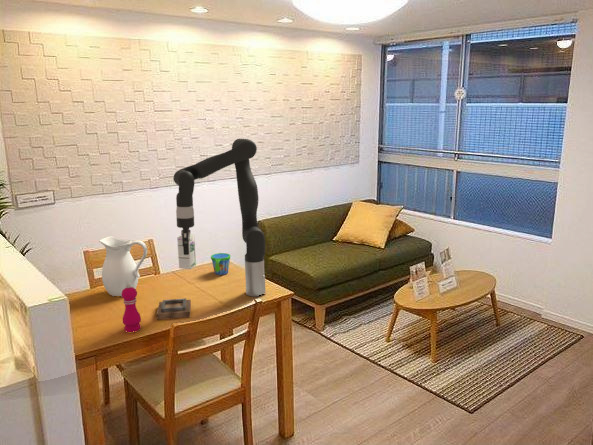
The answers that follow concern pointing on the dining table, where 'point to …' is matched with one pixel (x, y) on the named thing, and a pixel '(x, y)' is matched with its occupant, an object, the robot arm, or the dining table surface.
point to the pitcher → (120, 265)
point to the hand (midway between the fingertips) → (186, 252)
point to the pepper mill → (130, 310)
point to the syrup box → (189, 259)
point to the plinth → (174, 309)
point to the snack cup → (220, 263)
